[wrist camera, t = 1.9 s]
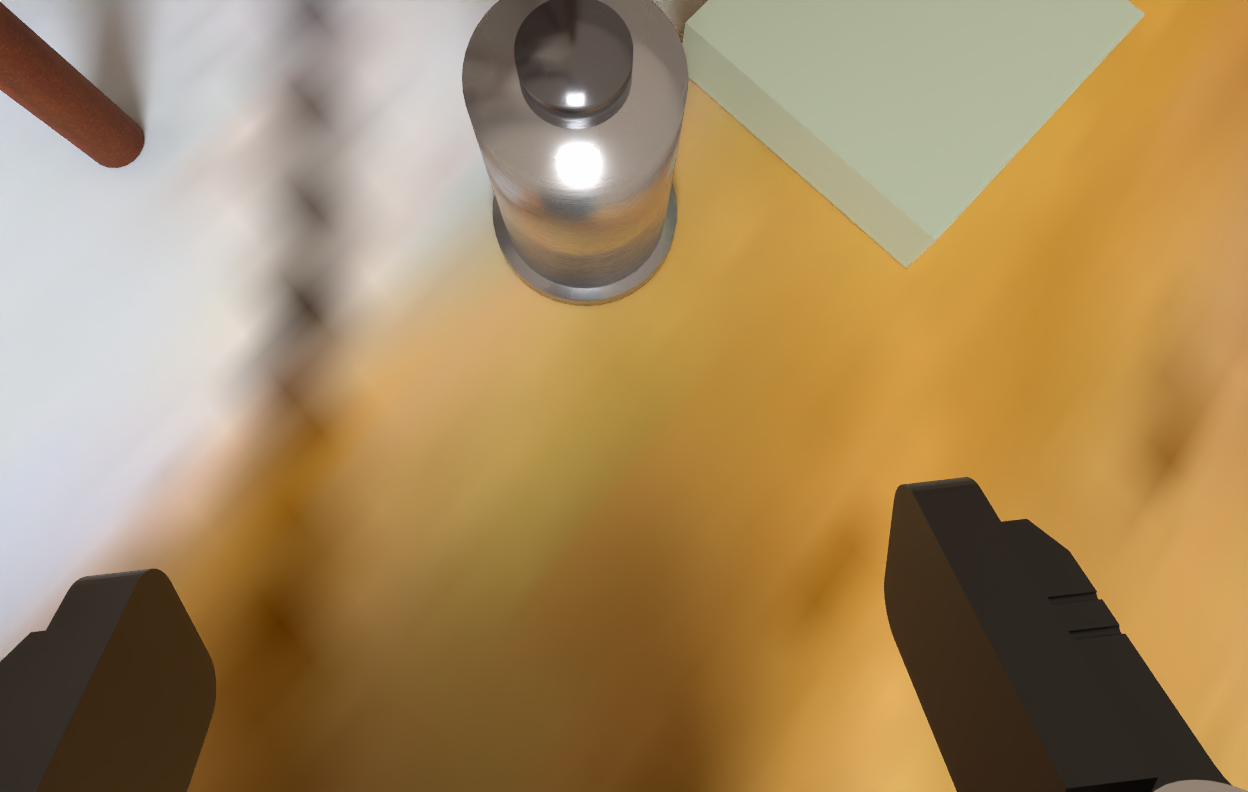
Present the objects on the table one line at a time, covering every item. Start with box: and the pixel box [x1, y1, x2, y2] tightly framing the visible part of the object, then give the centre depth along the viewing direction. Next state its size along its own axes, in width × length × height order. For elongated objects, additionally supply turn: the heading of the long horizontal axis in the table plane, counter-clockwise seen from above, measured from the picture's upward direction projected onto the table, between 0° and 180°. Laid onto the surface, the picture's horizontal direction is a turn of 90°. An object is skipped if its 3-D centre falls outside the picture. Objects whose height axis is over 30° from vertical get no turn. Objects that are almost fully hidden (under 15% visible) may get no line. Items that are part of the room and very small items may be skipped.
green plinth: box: [682, 0, 1145, 268], centre depth 32 cm, size 11×11×3 cm
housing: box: [462, 0, 688, 306], centre depth 27 cm, size 6×6×11 cm
